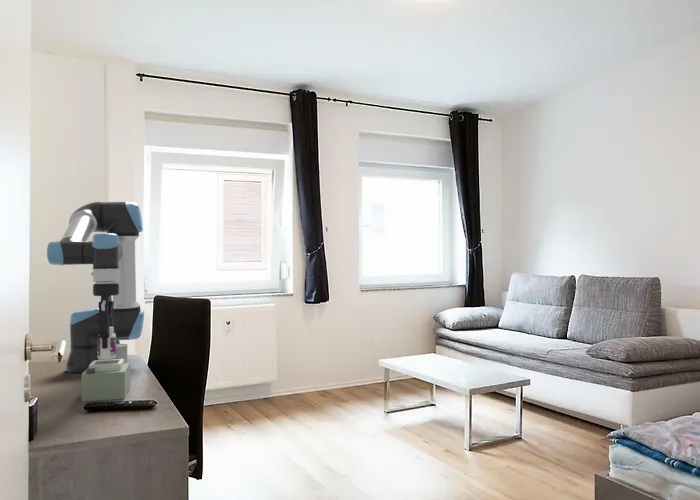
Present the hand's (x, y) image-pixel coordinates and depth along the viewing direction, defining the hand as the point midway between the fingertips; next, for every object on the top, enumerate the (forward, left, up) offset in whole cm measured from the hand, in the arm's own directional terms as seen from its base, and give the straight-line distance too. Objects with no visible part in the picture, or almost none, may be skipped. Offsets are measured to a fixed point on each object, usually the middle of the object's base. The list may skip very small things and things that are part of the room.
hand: (106, 357), depth 182 cm
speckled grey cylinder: (-21, -1, -12) cm, 24 cm away
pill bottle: (0, 0, 0) cm, 0 cm away
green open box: (0, 0, -11) cm, 11 cm away
